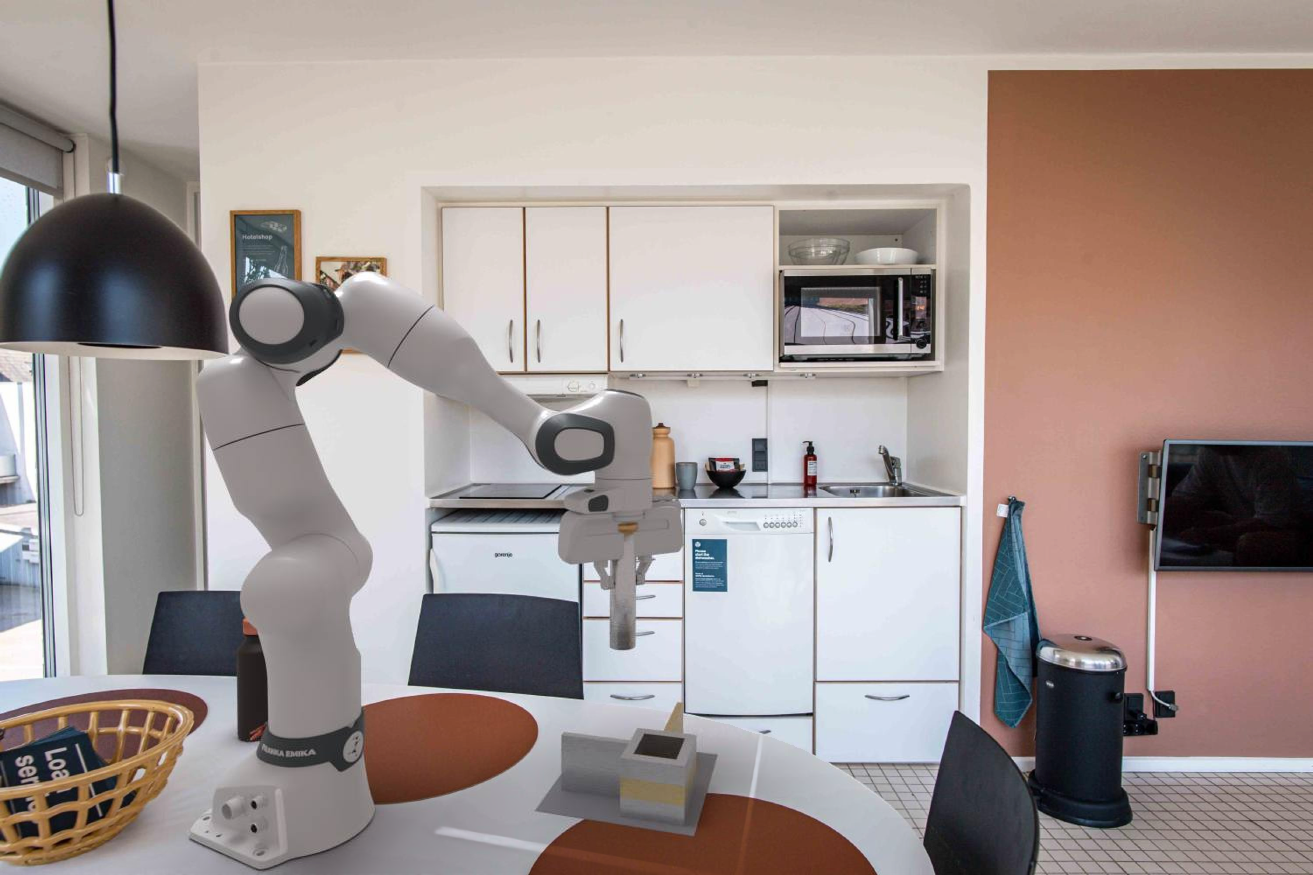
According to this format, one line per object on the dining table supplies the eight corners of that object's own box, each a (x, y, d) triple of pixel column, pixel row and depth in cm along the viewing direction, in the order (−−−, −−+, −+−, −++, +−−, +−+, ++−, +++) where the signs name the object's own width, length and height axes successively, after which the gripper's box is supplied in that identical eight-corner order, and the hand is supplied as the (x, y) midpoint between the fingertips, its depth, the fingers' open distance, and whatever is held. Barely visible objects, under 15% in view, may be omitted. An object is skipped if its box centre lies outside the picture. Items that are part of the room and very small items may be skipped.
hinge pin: (603, 649, 98) (604, 523, 97) (612, 639, 102) (613, 519, 102) (633, 652, 97) (634, 525, 96) (640, 642, 101) (641, 520, 101)
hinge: (550, 805, 90) (550, 748, 89) (594, 740, 108) (595, 692, 108) (684, 826, 85) (684, 766, 85) (706, 754, 103) (707, 705, 103)
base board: (534, 819, 88) (534, 810, 88) (587, 744, 109) (587, 737, 109) (694, 844, 83) (694, 835, 83) (717, 761, 104) (717, 754, 104)
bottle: (246, 725, 115) (245, 613, 114) (288, 721, 116) (287, 610, 116) (230, 744, 108) (229, 625, 108) (275, 739, 110) (274, 622, 109)
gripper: (669, 491, 107) (669, 574, 107) (553, 497, 96) (553, 590, 97) (691, 495, 102) (690, 582, 102) (571, 502, 91) (570, 600, 91)
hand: (622, 586), depth 99 cm, fingers closed on hinge pin, 4 cm apart
